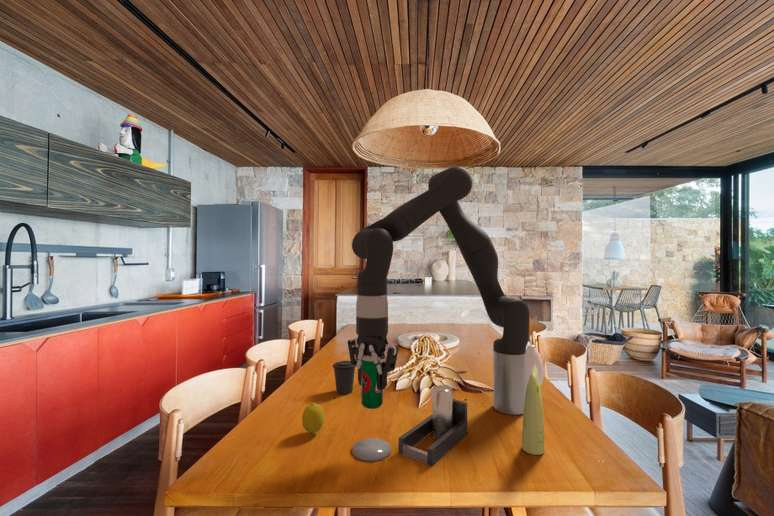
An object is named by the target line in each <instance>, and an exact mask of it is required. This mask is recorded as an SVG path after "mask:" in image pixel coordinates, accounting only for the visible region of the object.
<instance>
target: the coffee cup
mask: <svg viewBox="0 0 774 516" xmlns="http://www.w3.org/2000/svg"><path fill="white" fill-rule="evenodd" d="M332 368H333V370H334V371H333V372H334V380H335V381H334V382H335V390H336V394H338V395H343V396H345V395H349V394H352V393H353V389H354V381H355V371H356V368H357V367H356V366H355V365H352V364H351V360H340V361H337V362H334V363H333V365H332Z"/></svg>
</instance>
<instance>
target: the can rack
mask: <svg viewBox="0 0 774 516" xmlns="http://www.w3.org/2000/svg"><path fill="white" fill-rule="evenodd" d="M432 431H433V413H432V414H430V415H429V416H428V417H426V418H425V419H424V420H422V421H421V422H419V423H417V424H416V425H415V426H413V427H412V428H411V429H409V430H407V431H405V432H404V433H403V434H401V435H400V436H399V437H398V450H397V451H398V454H401V455H403V456H405V457H408V458H410V459H413V460H416V461H418V462H420V463H423V464H425V465H427V466H430V467H434V466H435V464H436V463H437V462H439V461H440V460H441V459H442V458H443V457H444V456H445V455H446V454H447V453H448V452H449V451H451V449H453V448H454V447H455V446H456V445H457V444H458V443H459V442H460V441H462V440H463V439H464V437H466V436H467V435H468V402H467V401H463V400H459V399H455V398H453V428H451V429H450V430H449V431H448V432H447V433H445V434H444V435H443V436H442V437H441V438H439V439H438V440H435V442H433V443H432V444H431V445H429V446H428V447H427V448H426V449H427V451H424V450H422V449H420V448H416V447H415V446H416V445H417V444H418V443H420V442H421V441H422V440H423V438H424V437H425V438H427V437H428V436H429V435H430V434H432V433H433V432H432ZM429 433H430V434H429ZM428 434H429V435H428ZM427 435H428V436H427ZM425 438H424V439H425Z"/></svg>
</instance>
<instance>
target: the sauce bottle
mask: <svg viewBox="0 0 774 516" xmlns="http://www.w3.org/2000/svg"><path fill="white" fill-rule="evenodd" d="M535 363H536V368H537V371H538V376H539V381H540V387H541V386H542V385H543V382H544V379H545V378H544V377H545V369H544V363H543V360H542V357H541V354H540V353H539V350H537V348H536V345H535V344H533V339H532V337H530V344H527V346H526V389H527V384H528V380H529V377H530V375H531V373H532V370H533V367H534V365H535Z"/></svg>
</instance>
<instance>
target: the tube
mask: <svg viewBox="0 0 774 516" xmlns="http://www.w3.org/2000/svg"><path fill="white" fill-rule="evenodd" d="M543 406H544V405H543V397H542V389H541V386H540V381H539V376H538V371H537V368H536V363H535V365H534V367H533V370H532V373H531V375H530V377H529V380H528V384H527V389H526V395H525V402H524V412H523V414H522V416H523V417H522V428H521V429H522V432H521V435H522V436H521V449H522V450H523V451H524V452H526V453H527V454H530V455H532V456H533V455H534V456H540V455H543V454H544V453H545V428H544V427H545V426H544V425H545V424H544V423H545V422H544V421H545V420H544V407H543Z"/></svg>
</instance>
